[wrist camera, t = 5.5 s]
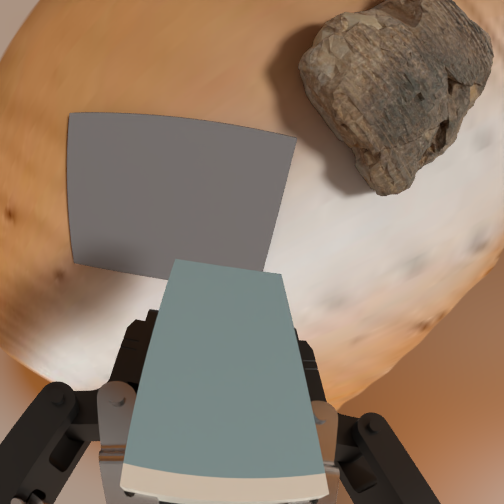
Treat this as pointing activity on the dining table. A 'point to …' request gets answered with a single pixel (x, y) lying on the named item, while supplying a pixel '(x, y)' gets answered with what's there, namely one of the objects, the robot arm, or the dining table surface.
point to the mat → (172, 191)
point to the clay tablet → (397, 84)
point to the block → (223, 396)
